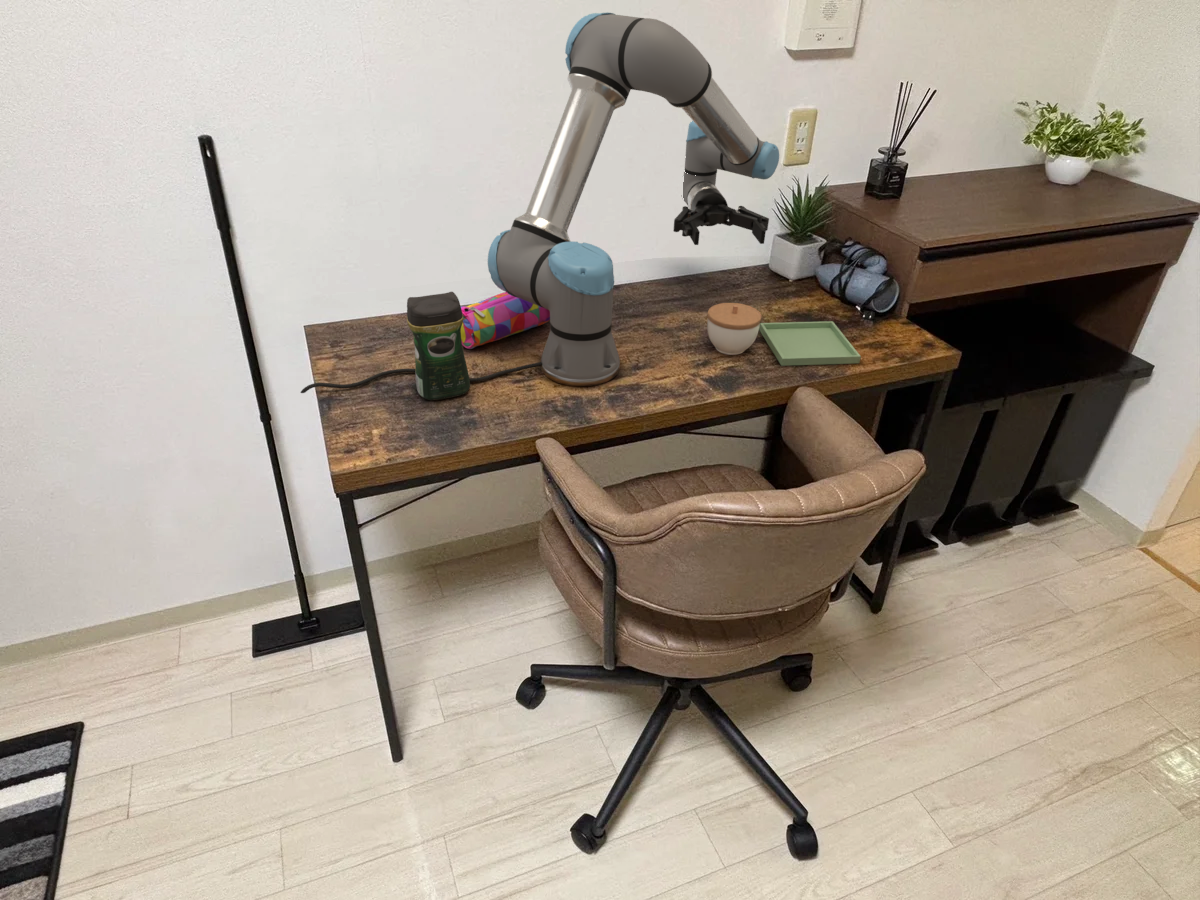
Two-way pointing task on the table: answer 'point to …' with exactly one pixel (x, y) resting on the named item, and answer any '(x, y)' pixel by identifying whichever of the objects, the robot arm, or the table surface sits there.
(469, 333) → the pencil case
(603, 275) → the robot arm
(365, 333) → the table surface
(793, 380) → the table surface
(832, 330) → the tray
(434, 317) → the coffee jar
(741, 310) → the trinket box
